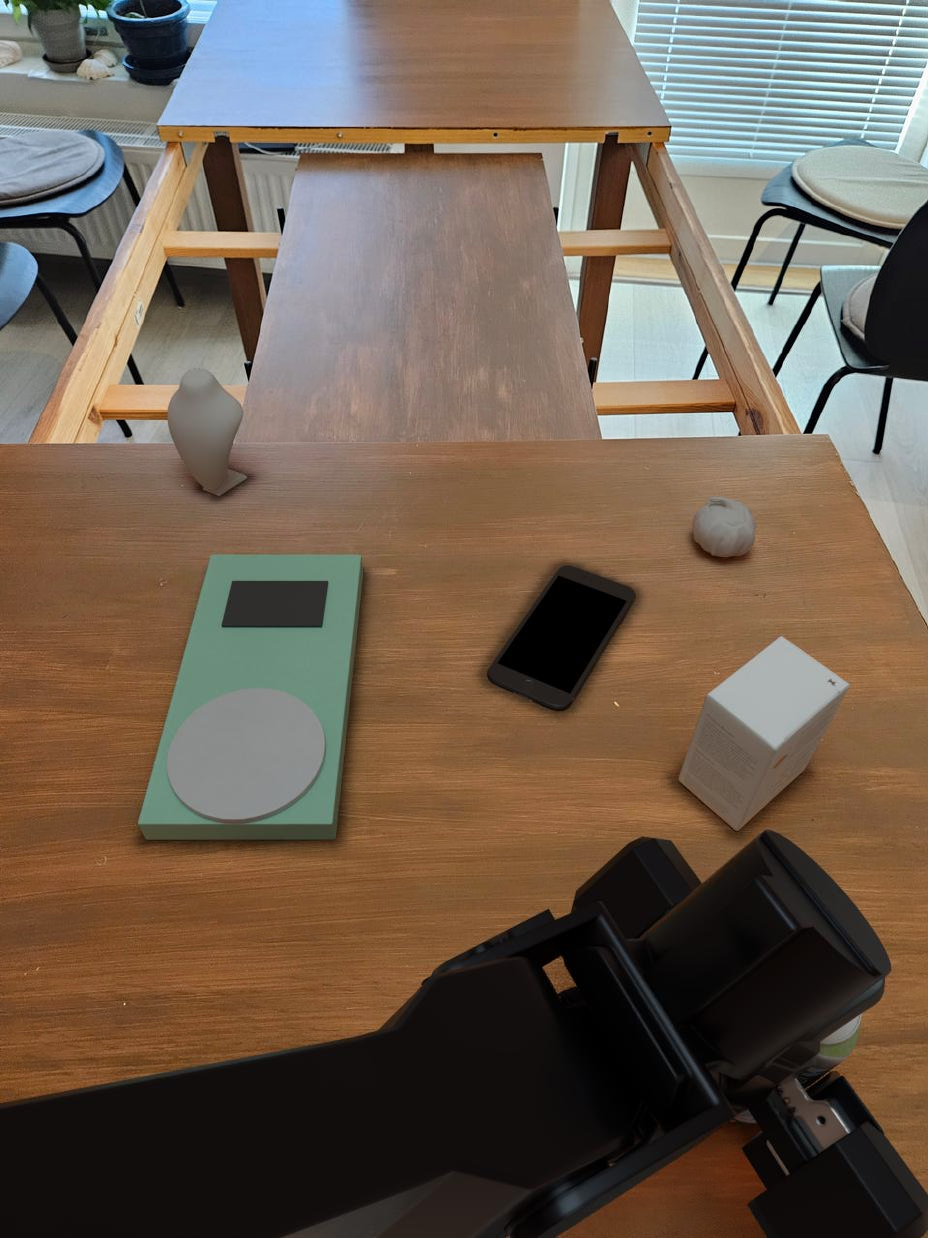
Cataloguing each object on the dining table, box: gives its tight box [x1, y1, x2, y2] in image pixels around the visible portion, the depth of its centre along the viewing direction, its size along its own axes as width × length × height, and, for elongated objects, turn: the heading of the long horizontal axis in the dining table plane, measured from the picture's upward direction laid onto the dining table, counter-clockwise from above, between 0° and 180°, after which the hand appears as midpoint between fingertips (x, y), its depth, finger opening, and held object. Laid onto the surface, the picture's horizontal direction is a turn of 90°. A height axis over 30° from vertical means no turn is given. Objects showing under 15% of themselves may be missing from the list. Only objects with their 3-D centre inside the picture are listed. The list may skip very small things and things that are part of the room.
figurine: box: [166, 367, 248, 497], centre depth 82 cm, size 8×5×12 cm
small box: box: [678, 635, 851, 832], centre depth 61 cm, size 8×6×10 cm
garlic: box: [691, 495, 757, 558], centre depth 79 cm, size 6×5×5 cm
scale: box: [137, 553, 364, 841], centre depth 69 cm, size 26×13×3 cm, turn 0°
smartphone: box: [486, 564, 637, 712], centre depth 74 cm, size 7×15×1 cm, turn 150°
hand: (791, 1022), depth 47 cm, fingers closed on beverage can, 6 cm apart
